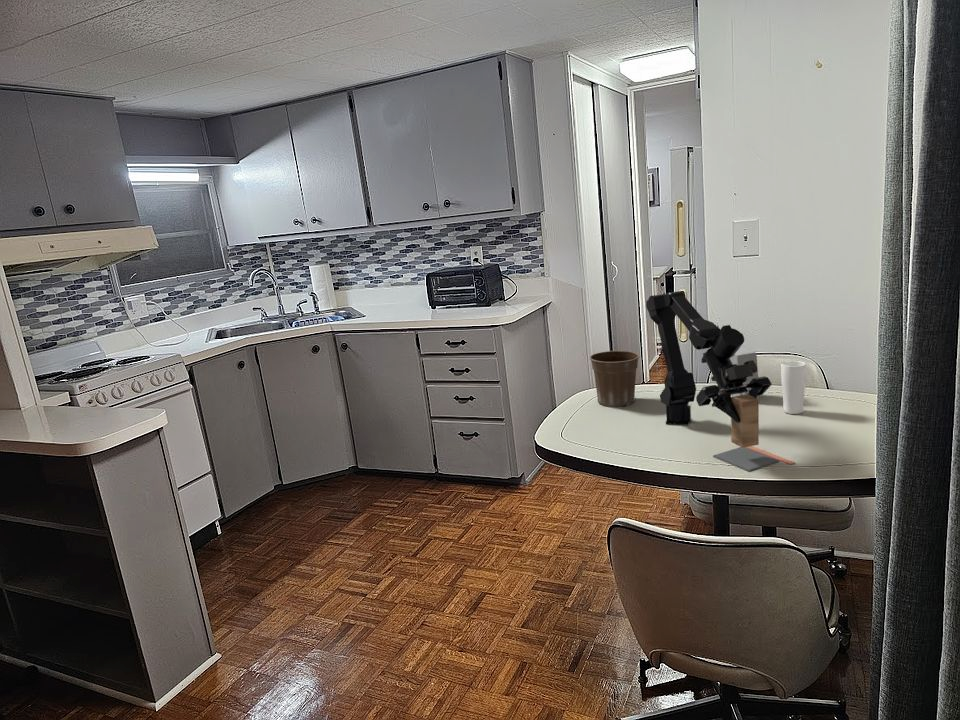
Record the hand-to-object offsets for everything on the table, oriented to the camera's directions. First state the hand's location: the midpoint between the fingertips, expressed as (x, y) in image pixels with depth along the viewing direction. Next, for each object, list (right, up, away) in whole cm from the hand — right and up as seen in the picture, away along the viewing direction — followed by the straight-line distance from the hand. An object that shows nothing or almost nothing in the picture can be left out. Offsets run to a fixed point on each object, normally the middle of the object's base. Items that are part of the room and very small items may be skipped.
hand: (748, 420), depth 166 cm
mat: (+1, -10, +4) cm, 11 cm away
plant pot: (-20, +1, +60) cm, 63 cm away
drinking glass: (+27, -1, +34) cm, 43 cm away
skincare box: (+19, +2, +51) cm, 54 cm away
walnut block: (0, -6, +3) cm, 7 cm away
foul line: (+7, -9, +6) cm, 13 cm away
